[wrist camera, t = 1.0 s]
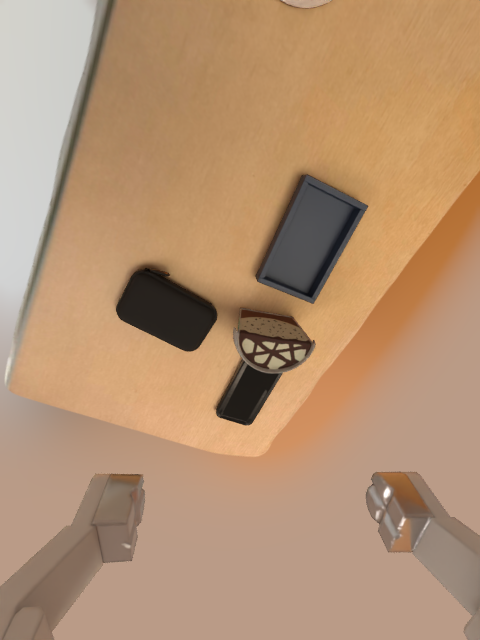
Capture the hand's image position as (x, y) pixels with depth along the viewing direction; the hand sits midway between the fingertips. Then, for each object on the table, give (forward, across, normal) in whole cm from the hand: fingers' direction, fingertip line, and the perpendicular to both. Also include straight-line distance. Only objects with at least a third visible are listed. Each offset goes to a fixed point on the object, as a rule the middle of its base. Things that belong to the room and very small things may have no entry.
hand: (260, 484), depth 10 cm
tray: (+39, -12, -3) cm, 41 cm away
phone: (+39, -6, +26) cm, 47 cm away
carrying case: (+39, +9, +9) cm, 41 cm away
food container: (+39, -7, +12) cm, 42 cm away
